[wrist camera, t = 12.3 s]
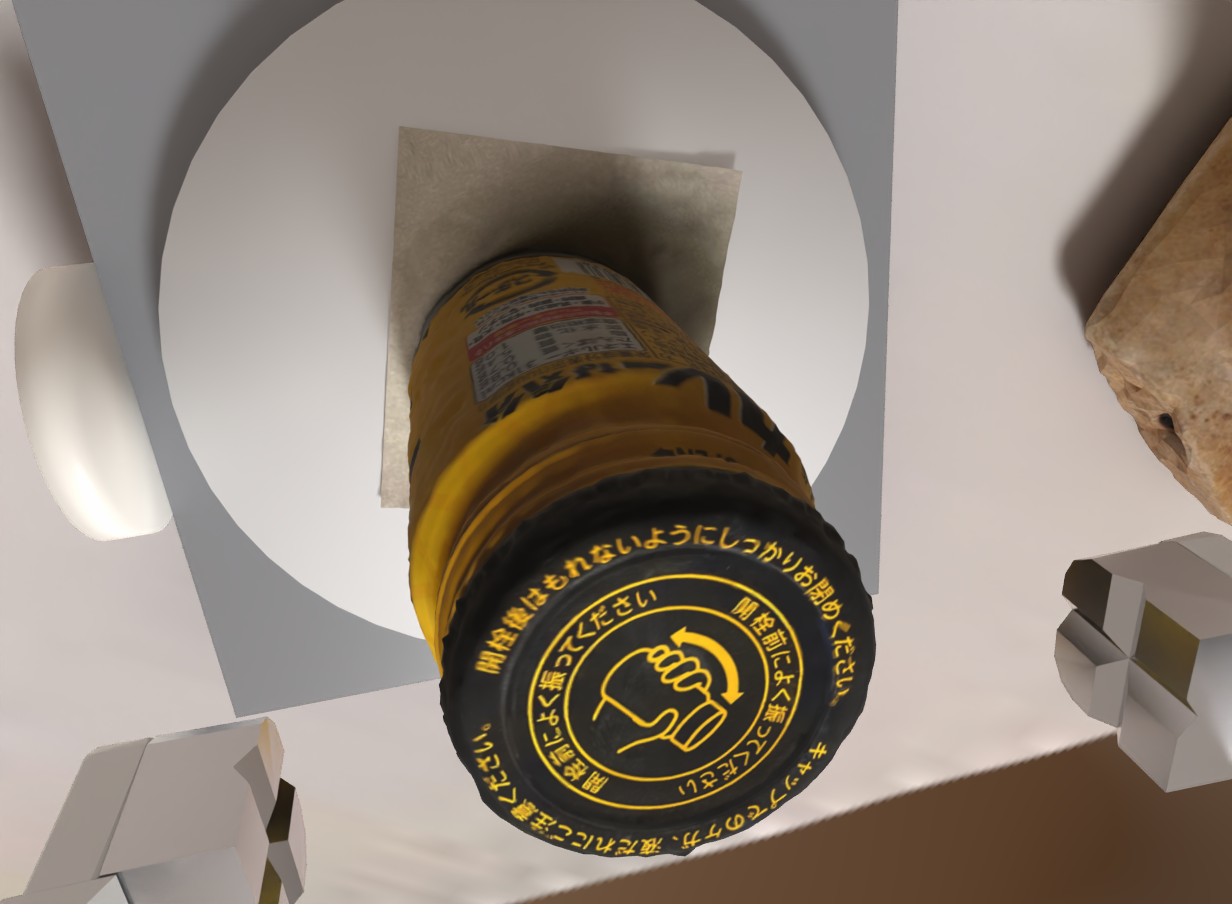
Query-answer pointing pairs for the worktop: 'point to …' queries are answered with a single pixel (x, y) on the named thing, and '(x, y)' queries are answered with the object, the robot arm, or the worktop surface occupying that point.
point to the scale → (362, 269)
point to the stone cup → (1179, 332)
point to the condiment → (604, 503)
